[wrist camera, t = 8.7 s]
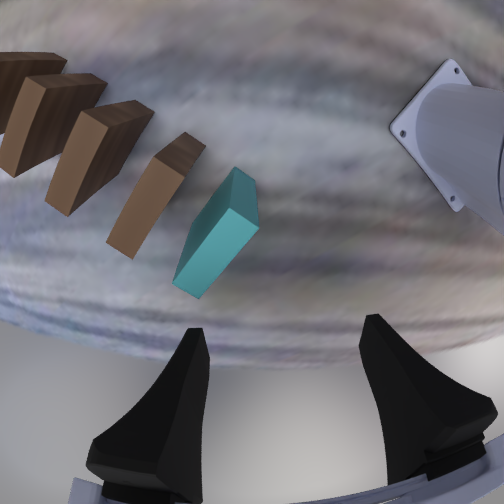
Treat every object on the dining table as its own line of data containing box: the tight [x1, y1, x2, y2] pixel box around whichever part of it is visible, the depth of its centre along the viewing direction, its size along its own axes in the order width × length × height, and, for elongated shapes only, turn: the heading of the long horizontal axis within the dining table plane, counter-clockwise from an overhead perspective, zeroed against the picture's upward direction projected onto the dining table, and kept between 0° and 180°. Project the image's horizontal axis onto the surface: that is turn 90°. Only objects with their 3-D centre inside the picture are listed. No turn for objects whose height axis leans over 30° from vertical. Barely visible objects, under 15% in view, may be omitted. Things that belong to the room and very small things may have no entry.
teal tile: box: [172, 167, 259, 299], centre depth 17 cm, size 2×5×7 cm, turn 143°
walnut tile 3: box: [45, 100, 155, 217], centre depth 14 cm, size 2×5×7 cm, turn 142°
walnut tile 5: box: [0, 52, 67, 135], centre depth 12 cm, size 2×5×7 cm, turn 142°
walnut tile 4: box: [0, 73, 108, 178], centre depth 13 cm, size 2×5×7 cm, turn 142°
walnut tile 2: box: [106, 132, 205, 260], centre depth 16 cm, size 2×5×7 cm, turn 142°
